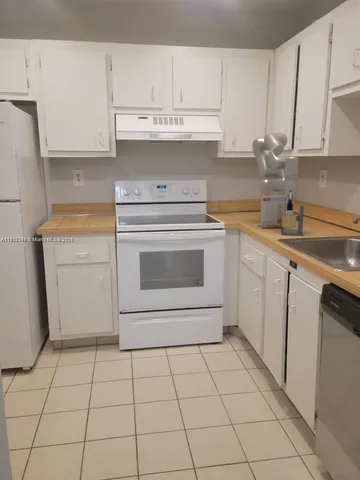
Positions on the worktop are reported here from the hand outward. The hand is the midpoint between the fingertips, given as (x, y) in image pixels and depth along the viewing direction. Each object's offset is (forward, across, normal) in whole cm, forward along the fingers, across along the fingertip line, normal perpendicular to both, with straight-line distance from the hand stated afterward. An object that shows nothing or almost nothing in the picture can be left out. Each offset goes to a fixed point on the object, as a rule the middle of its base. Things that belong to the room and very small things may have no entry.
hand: (289, 209), depth 216 cm
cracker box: (+14, -19, -10) cm, 25 cm away
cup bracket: (+14, 0, +2) cm, 14 cm away
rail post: (+5, 0, 0) cm, 5 cm away
